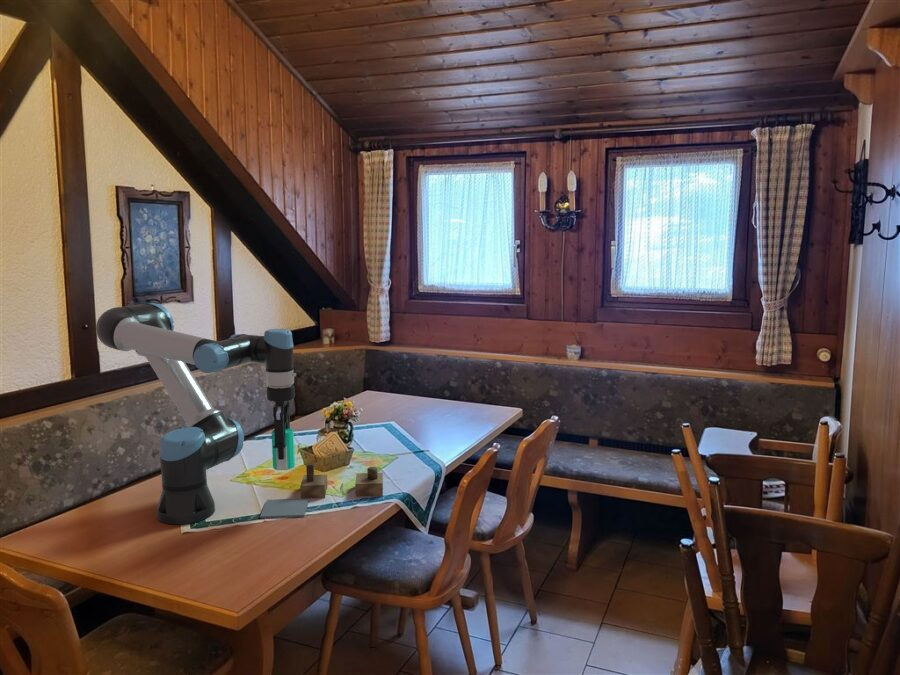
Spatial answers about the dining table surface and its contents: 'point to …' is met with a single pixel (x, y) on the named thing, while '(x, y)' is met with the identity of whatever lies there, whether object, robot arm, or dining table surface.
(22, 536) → the dining table surface
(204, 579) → the dining table surface
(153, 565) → the dining table surface
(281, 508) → the coaster
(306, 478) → the wooden peg blocks
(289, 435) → the candle
